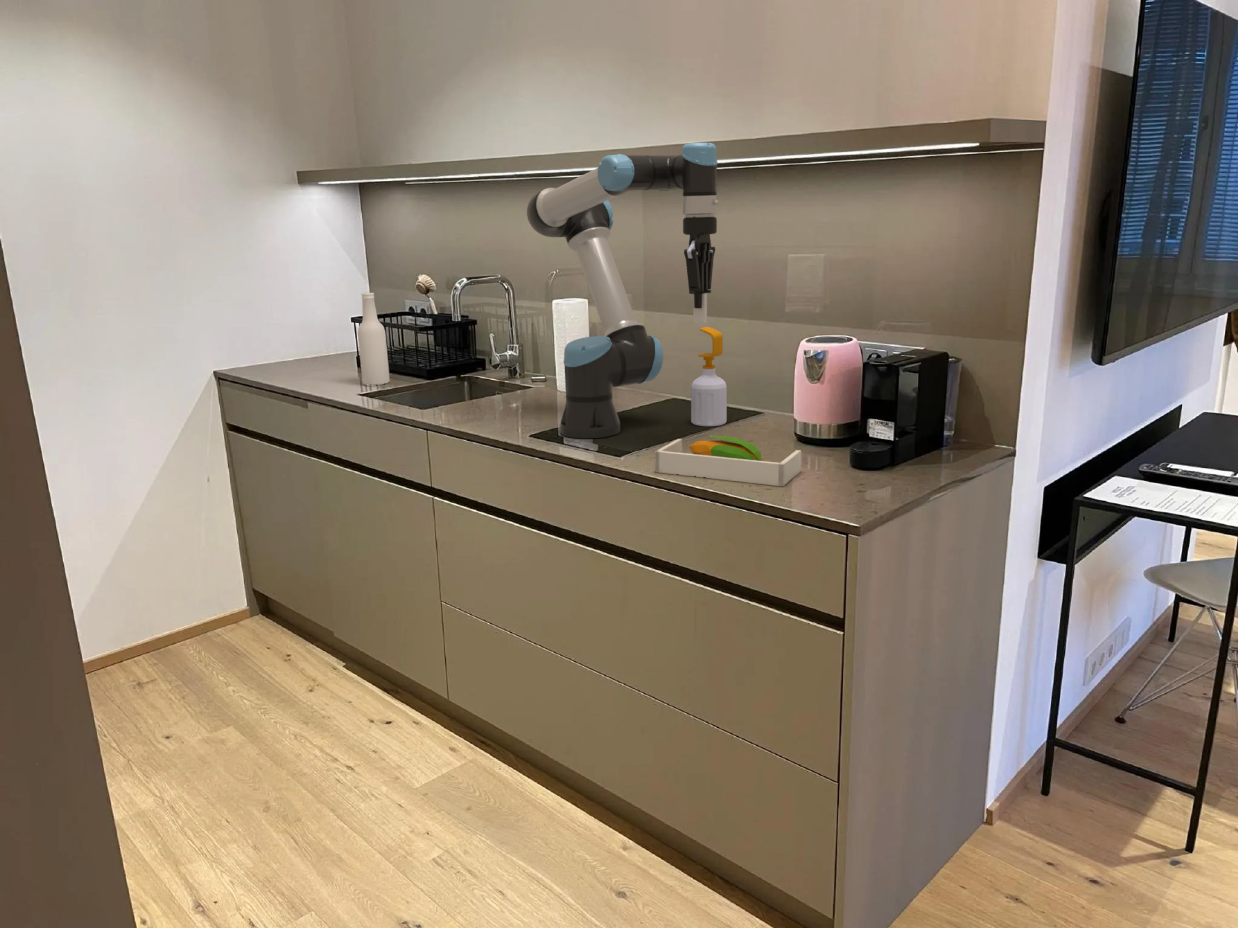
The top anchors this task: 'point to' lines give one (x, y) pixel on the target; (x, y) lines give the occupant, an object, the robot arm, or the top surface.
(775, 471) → the tray
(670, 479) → the top surface
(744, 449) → the corn
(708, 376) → the soap bottle
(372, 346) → the alcohol
